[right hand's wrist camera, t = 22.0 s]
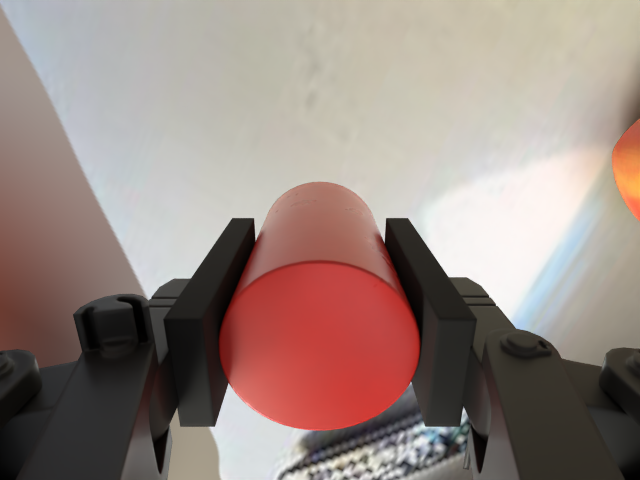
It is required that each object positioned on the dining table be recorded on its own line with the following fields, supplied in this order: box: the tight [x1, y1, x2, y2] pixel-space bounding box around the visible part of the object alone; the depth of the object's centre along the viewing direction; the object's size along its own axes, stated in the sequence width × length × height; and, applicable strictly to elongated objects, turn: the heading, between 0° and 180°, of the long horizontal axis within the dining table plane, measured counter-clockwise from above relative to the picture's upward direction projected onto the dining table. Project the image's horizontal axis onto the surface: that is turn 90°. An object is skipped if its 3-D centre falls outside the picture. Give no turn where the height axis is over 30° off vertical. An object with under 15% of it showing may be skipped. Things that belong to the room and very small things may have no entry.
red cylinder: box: [218, 182, 421, 430], centre depth 13 cm, size 5×5×8 cm
